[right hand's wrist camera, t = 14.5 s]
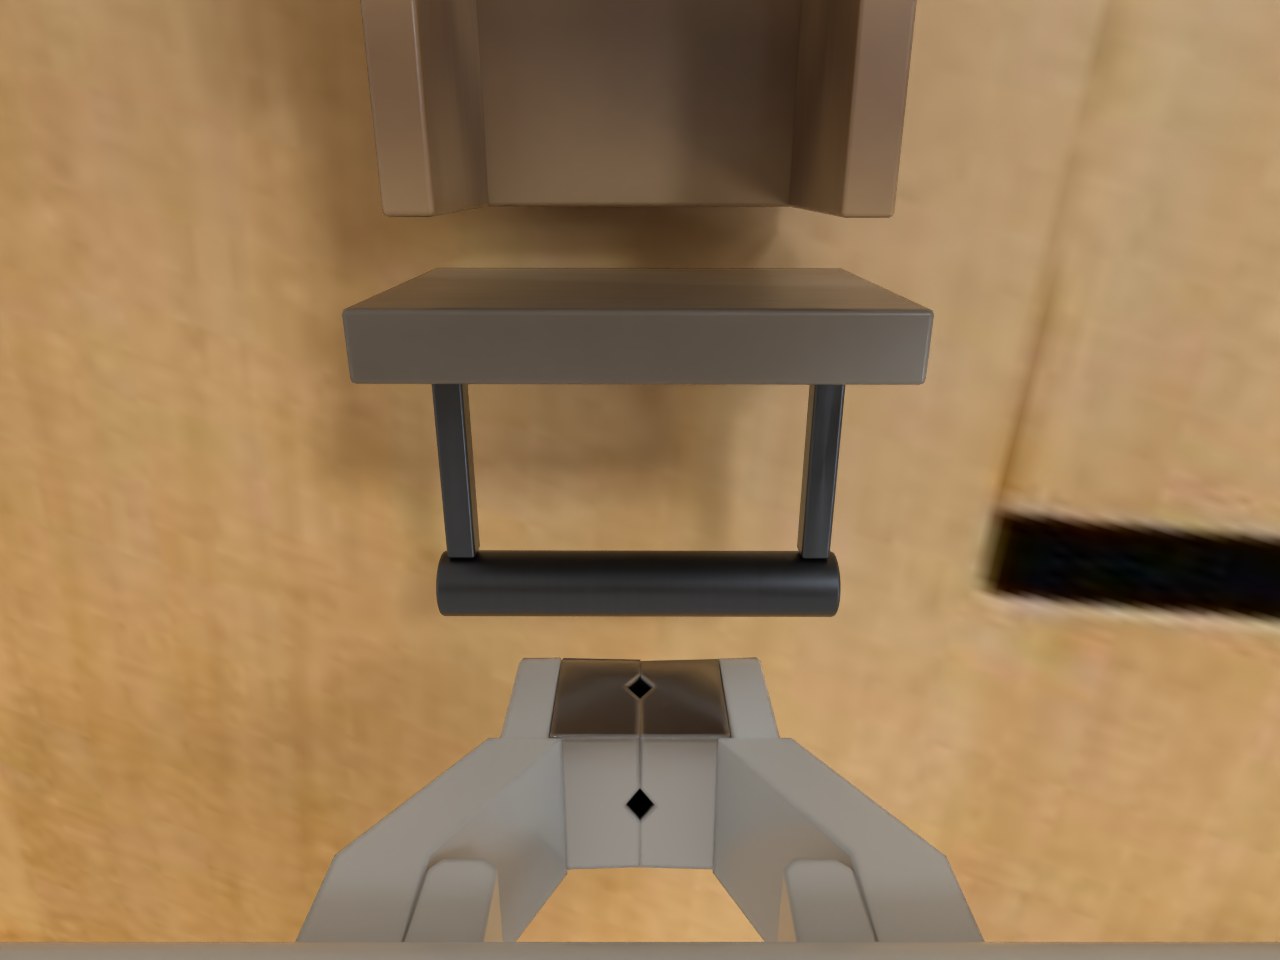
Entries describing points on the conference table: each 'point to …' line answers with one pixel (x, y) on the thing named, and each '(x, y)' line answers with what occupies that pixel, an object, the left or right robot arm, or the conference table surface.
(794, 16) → the drawer
